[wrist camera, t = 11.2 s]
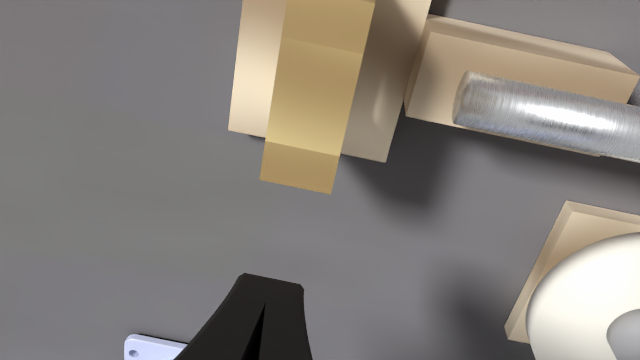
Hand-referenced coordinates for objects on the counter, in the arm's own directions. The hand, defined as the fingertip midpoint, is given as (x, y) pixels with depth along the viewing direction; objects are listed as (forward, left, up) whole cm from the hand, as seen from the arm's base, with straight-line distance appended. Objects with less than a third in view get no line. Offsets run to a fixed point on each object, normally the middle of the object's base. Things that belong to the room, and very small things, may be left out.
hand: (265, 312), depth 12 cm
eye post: (+4, -3, -10) cm, 11 cm away
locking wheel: (-4, -14, -9) cm, 17 cm away
